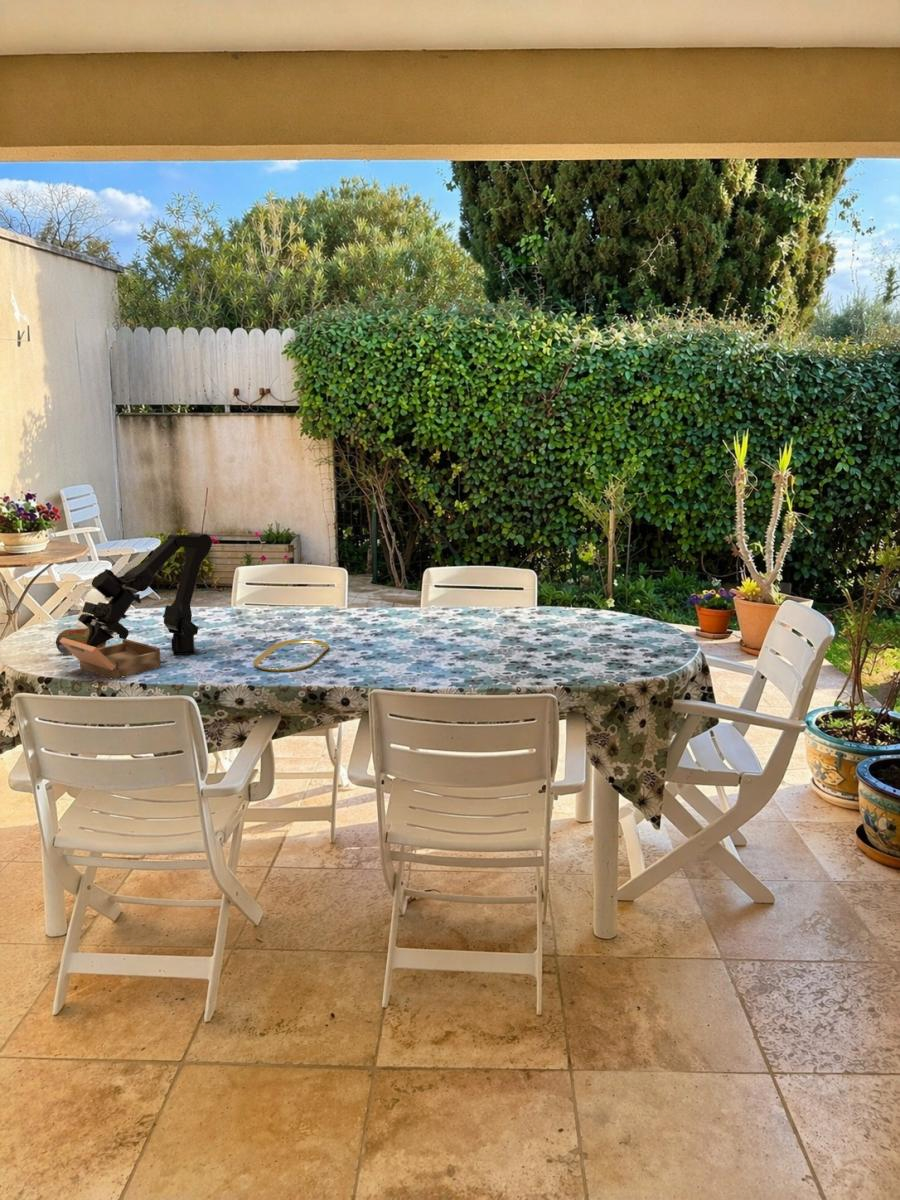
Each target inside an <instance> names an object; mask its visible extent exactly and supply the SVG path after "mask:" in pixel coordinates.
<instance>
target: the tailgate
mask: <svg viewBox="0 0 900 1200" xmlns="http://www.w3.org/2000/svg"><path fill="white" fill-rule="evenodd" d="M59 642H61V643H62V644H63V645H64V646H65V647H66V648H67V649H68V650H69V651H70V652H71V653H72V654H73V655H72V656H74V657H75V658H76V659H77V660H79V661H80V660H81V661H84V662H87V663H90V664H93V665H96V666H99V667H102V668H105V669H108V670H113V669H114V668H115V666H114V665H113V664H112V663H111V662H110V661H109V660H108V659H107V658H106V657H105V656H104V655H103V654H102V653H101V652H100V651H99V650H98V649H97V648H96V647H93V646H89V645H86V644H83V643H80V642H76V641H73V640H70V639H66V638H62V639H61V640H60V641H59Z"/></svg>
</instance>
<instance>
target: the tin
mask: <svg viewBox="0 0 900 1200" xmlns="http://www.w3.org/2000/svg"><path fill="white" fill-rule="evenodd" d="M89 632H90V630H89V628H79V629H77V628H68V629H65V630H63V631H61V632H60V633H59V634H58V635H57V637H56V639H55V646H56V648H57V650H58V651H59V652H60V653H61V654H63V655H65V656H73V655H72V653H71V652H70V651H69V650H68V649H67V648H66V647H65V646H64V645H63V644H62V643H61V642H59V641H60V640H61V639H62V638H66V639H70V640H73V641H76V642H80V643H83V644H86V643H87V640H88V636H89ZM106 644H107V641H105V642H103V643H101V644H100V645H98V646H96V648H102V647H106V646H107V645H106Z"/></svg>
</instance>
